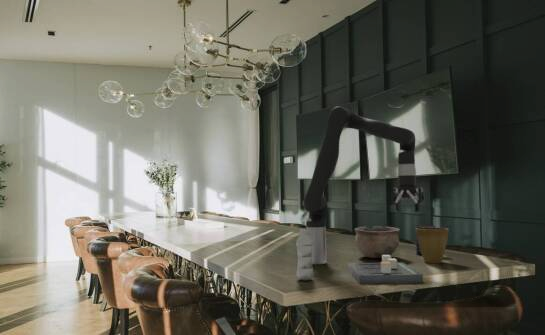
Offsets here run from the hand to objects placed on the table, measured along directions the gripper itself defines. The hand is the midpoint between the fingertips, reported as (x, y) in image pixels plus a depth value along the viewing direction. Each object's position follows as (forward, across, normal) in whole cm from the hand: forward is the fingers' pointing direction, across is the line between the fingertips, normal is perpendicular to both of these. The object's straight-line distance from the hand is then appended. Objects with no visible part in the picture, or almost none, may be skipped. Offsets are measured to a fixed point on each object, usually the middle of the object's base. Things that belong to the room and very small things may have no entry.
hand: (407, 211), depth 209 cm
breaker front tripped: (+22, +4, -28) cm, 36 cm away
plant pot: (+25, -1, +25) cm, 35 cm away
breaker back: (+22, -5, -10) cm, 24 cm away
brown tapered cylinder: (+25, -14, +44) cm, 53 cm away
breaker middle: (+22, +1, -17) cm, 28 cm away
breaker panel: (+25, -2, -20) cm, 32 cm away
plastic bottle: (+25, -20, -47) cm, 57 cm away
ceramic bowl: (+25, -28, +20) cm, 43 cm away
